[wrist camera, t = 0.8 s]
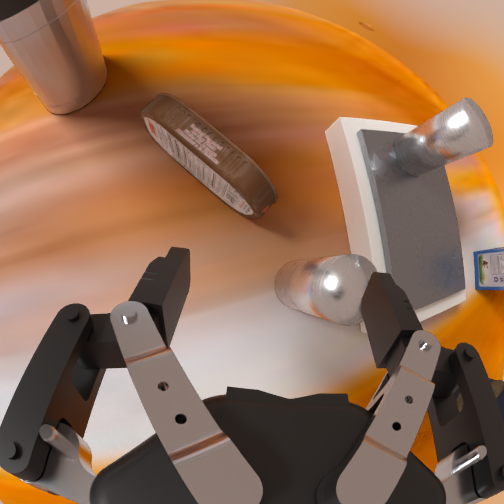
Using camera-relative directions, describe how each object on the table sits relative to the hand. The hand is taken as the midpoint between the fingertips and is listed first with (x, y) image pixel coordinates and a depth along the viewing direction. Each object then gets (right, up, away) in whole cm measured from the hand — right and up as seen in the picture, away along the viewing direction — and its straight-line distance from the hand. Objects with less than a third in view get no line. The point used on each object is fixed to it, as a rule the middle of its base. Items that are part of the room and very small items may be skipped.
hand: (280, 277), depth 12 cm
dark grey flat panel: (+18, +5, +17) cm, 25 cm away
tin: (-6, +9, +17) cm, 20 cm away
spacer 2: (+17, +12, +16) cm, 26 cm away
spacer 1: (+3, -2, +18) cm, 18 cm away
